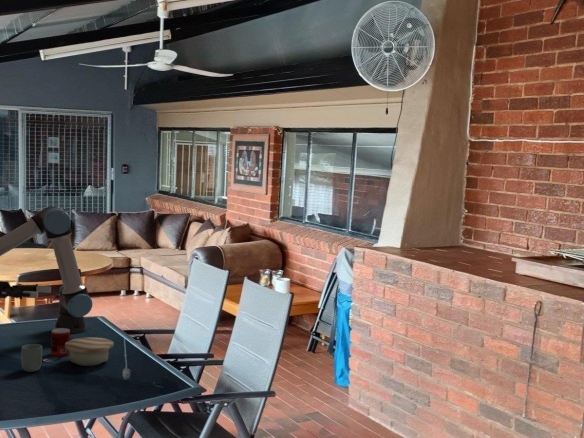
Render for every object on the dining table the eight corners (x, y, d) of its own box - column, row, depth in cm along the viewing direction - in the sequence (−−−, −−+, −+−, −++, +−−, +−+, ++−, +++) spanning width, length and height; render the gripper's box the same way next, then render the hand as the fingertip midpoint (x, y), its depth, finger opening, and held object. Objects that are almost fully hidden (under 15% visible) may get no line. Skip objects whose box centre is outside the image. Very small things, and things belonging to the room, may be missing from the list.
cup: (34, 374, 265) (35, 349, 265) (17, 372, 267) (17, 347, 266) (45, 368, 273) (46, 345, 272) (28, 366, 274) (29, 343, 274)
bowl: (77, 355, 293) (78, 340, 293) (113, 358, 292) (113, 342, 292) (63, 366, 277) (63, 350, 277) (100, 368, 276) (101, 352, 276)
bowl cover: (75, 338, 295) (75, 336, 295) (119, 341, 294) (119, 339, 294) (57, 350, 275) (57, 348, 275) (104, 354, 274) (104, 351, 274)
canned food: (72, 352, 297) (72, 328, 296) (64, 357, 289) (65, 333, 289) (55, 351, 298) (56, 327, 297) (47, 356, 290) (48, 331, 289)
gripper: (11, 292, 312) (55, 295, 311) (-16, 302, 287) (31, 306, 286) (11, 276, 311) (55, 279, 310) (-16, 285, 287) (32, 289, 286)
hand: (44, 292), depth 298 cm, fingers open, 13 cm apart
